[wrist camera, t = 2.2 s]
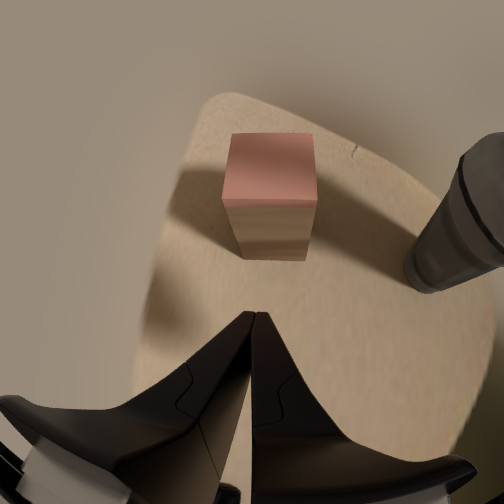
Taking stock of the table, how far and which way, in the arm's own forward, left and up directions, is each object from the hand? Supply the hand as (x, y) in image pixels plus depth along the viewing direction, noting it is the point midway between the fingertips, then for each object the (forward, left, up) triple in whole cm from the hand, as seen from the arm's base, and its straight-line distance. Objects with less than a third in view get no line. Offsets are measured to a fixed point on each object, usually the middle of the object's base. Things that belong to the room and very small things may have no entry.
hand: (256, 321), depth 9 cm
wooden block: (+9, 0, -11) cm, 15 cm away
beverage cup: (+6, -14, -12) cm, 19 cm away
